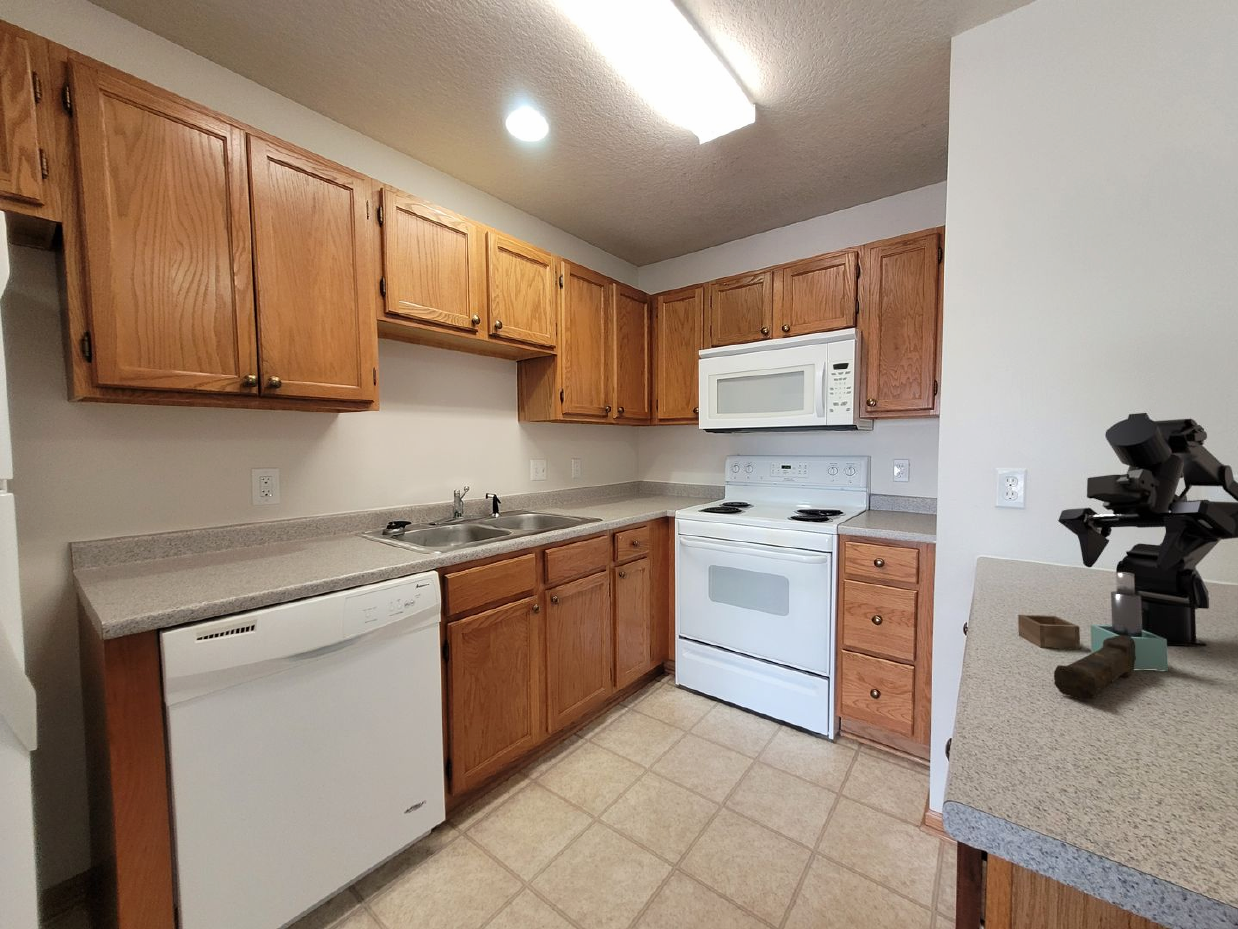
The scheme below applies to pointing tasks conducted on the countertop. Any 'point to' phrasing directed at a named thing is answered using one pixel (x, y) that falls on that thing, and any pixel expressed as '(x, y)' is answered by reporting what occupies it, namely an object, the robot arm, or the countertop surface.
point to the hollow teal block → (1136, 647)
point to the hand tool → (1097, 668)
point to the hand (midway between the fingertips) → (1121, 567)
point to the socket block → (1049, 631)
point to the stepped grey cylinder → (1126, 607)
